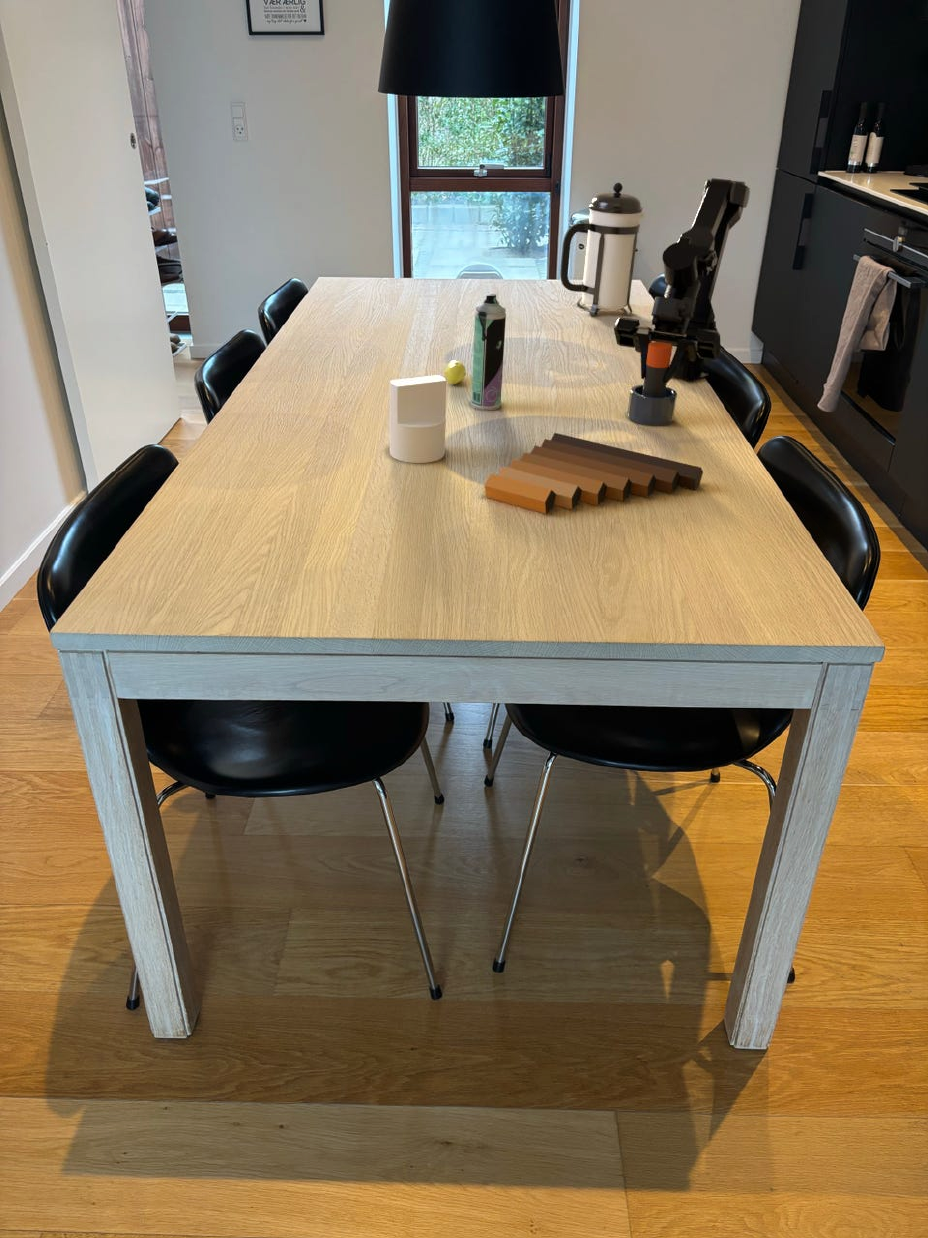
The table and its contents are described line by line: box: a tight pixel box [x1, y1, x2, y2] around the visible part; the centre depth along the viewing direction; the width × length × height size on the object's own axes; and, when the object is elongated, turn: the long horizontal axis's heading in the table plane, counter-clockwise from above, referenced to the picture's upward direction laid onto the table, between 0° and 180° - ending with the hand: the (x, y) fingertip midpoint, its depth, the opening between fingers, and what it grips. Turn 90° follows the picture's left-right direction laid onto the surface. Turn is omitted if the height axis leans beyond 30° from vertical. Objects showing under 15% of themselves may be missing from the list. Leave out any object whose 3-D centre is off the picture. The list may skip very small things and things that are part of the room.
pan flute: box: [484, 432, 704, 515], centre depth 146 cm, size 25×3×25 cm
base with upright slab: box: [389, 374, 447, 464], centre depth 155 cm, size 9×9×12 cm
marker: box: [642, 341, 673, 398], centre depth 173 cm, size 4×4×12 cm
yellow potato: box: [444, 360, 467, 385], centre depth 190 cm, size 4×8×4 cm, turn 172°
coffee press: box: [559, 182, 646, 317], centre depth 237 cm, size 17×16×30 cm
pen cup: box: [627, 384, 678, 427], centre depth 175 cm, size 8×8×5 cm
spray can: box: [470, 293, 507, 411], centre depth 174 cm, size 6×6×20 cm
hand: (653, 379), depth 172 cm, fingers closed on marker, 4 cm apart
